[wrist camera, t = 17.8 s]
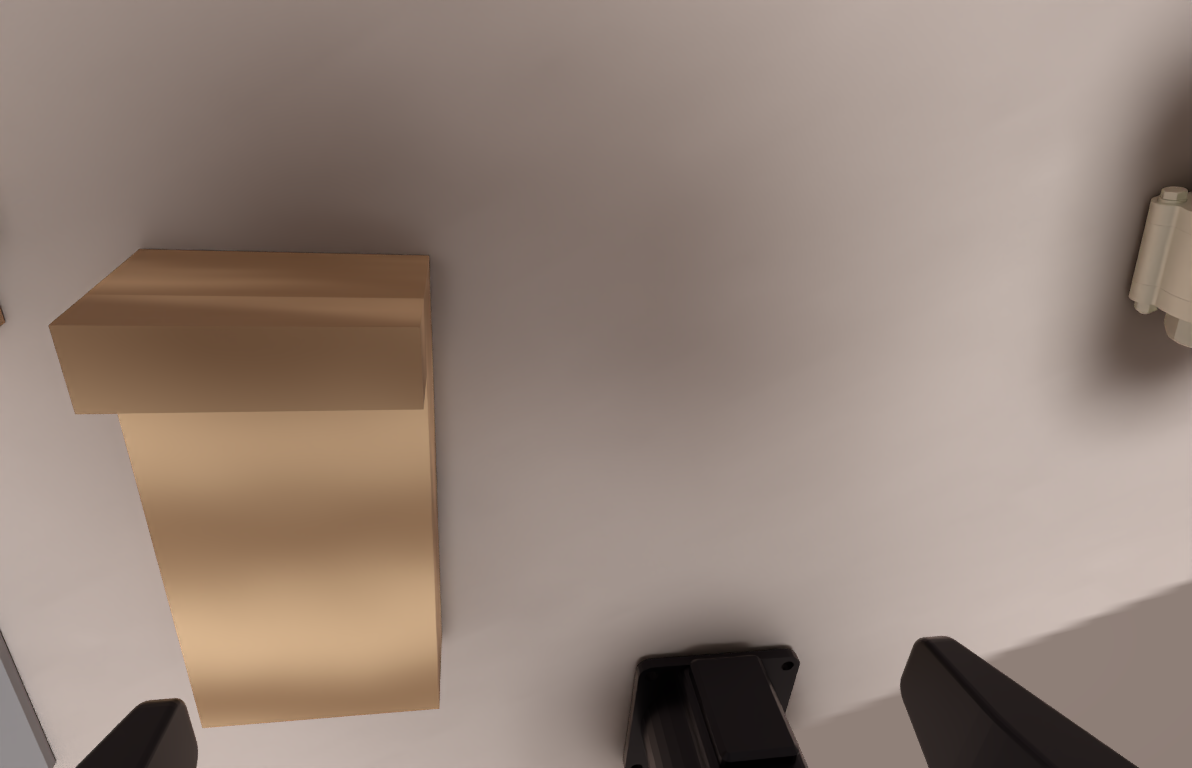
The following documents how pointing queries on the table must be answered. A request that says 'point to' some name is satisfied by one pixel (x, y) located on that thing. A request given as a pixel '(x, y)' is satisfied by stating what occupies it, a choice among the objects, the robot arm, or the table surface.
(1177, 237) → the pneumatic valve
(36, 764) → the felt pad
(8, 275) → the table surface
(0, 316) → the lever mount
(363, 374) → the body
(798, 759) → the robot arm
